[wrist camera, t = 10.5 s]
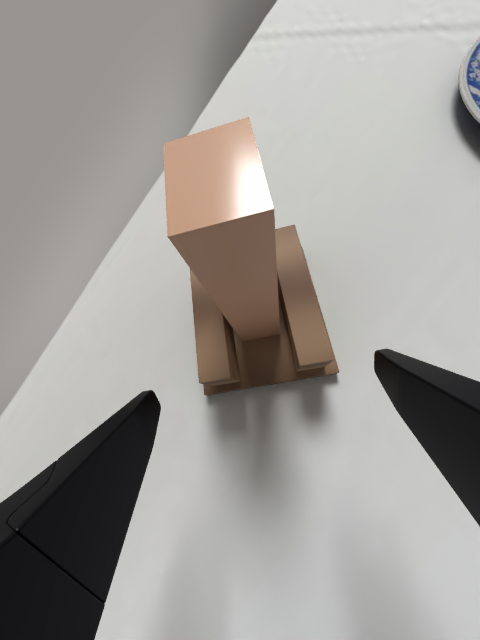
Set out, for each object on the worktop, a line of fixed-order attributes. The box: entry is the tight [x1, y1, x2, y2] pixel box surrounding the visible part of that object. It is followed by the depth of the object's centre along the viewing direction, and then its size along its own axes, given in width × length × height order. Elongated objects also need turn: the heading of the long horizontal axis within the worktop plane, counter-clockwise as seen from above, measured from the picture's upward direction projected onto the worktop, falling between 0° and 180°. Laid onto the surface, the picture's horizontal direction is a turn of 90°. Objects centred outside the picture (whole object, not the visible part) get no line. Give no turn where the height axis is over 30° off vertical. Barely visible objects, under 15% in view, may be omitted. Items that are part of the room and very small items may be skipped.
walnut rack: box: [190, 225, 339, 395], centre depth 17 cm, size 11×10×4 cm
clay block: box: [163, 117, 280, 341], centre depth 13 cm, size 4×3×12 cm
